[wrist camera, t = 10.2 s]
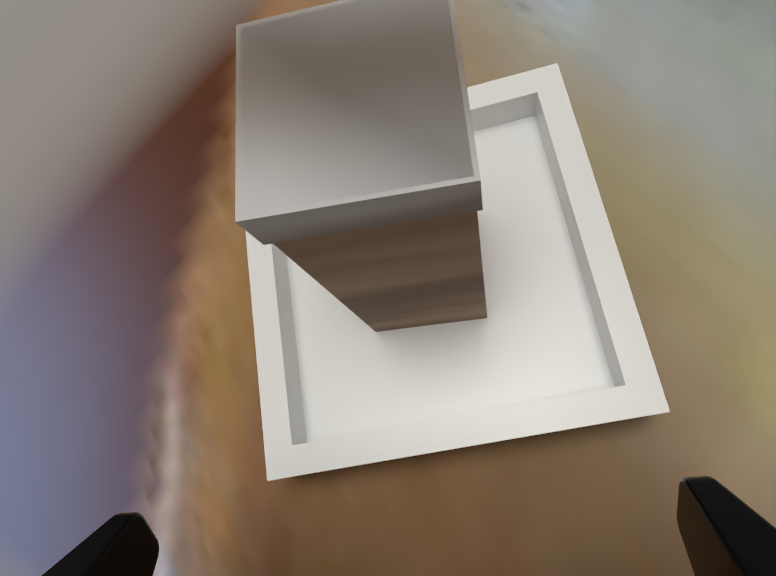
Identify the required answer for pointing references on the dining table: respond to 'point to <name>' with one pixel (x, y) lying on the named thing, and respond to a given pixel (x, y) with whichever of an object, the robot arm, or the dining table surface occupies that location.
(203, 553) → the dining table surface
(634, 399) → the tray
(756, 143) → the dining table surface
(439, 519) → the dining table surface
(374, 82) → the brown rectangular block
